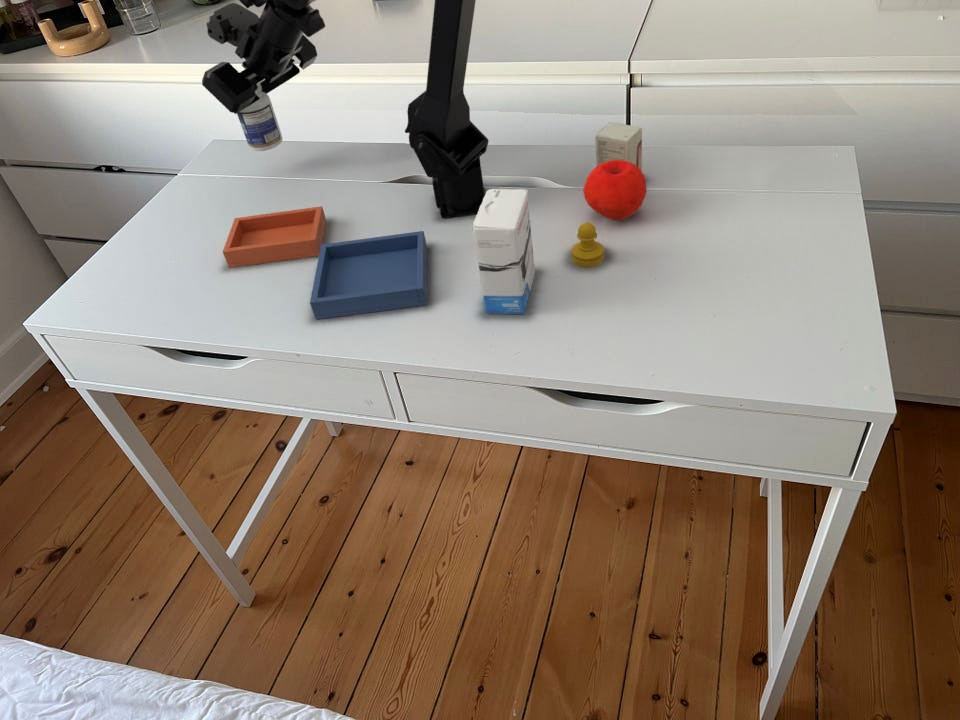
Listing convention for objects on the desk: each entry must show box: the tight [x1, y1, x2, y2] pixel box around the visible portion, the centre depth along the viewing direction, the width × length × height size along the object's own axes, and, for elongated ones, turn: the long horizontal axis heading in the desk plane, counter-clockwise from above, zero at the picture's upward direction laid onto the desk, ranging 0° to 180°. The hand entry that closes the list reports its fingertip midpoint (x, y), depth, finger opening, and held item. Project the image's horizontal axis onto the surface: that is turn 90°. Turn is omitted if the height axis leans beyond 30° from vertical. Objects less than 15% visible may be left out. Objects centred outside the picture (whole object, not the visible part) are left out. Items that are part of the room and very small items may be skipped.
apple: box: [582, 160, 648, 221], centre depth 99 cm, size 8×8×7 cm
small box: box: [594, 121, 643, 172], centre depth 105 cm, size 5×4×8 cm
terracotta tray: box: [222, 205, 328, 269], centre depth 106 cm, size 13×9×3 cm
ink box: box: [472, 188, 536, 315], centre depth 88 cm, size 8×5×12 cm, turn 168°
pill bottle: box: [236, 83, 283, 152], centre depth 117 cm, size 5×5×10 cm
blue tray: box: [309, 230, 428, 320], centre depth 97 cm, size 14×13×3 cm
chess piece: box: [571, 221, 605, 268], centre depth 94 cm, size 4×4×5 cm
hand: (245, 102), depth 117 cm, fingers closed on pill bottle, 5 cm apart
